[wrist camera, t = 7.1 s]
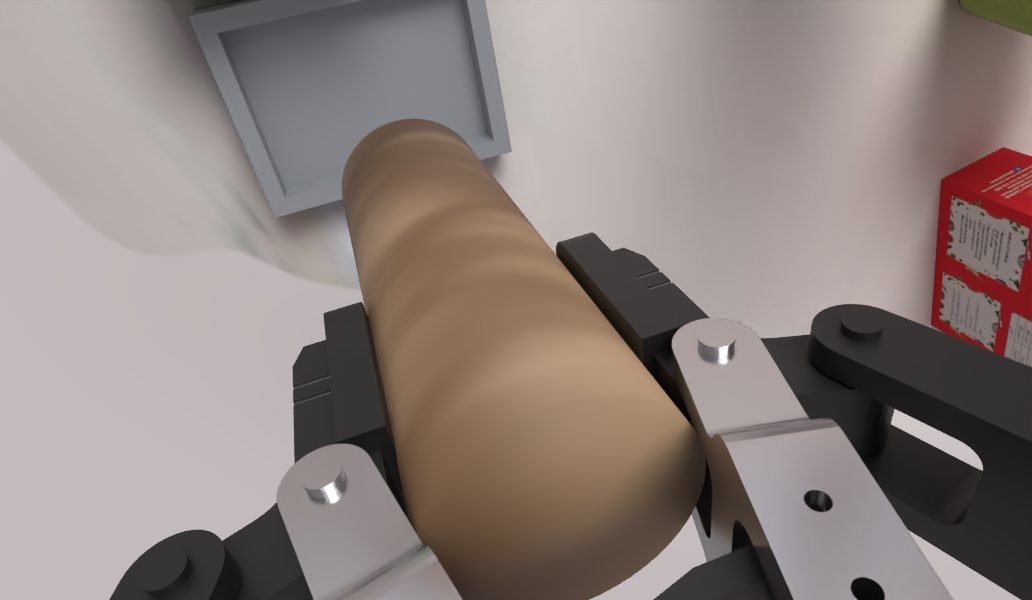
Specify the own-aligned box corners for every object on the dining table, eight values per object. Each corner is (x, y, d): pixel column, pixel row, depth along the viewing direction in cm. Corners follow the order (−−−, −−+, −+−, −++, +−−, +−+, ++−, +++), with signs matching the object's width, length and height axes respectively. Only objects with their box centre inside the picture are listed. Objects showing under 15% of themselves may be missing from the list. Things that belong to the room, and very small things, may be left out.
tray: (465, -51, 28) (476, -48, 26) (500, 140, 33) (511, 151, 32) (193, 10, 26) (187, 16, 24) (275, 202, 31) (274, 218, 30)
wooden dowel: (466, 102, 17) (709, 355, 7) (492, 230, 19) (703, 552, 10) (321, 139, 16) (376, 471, 7) (365, 267, 19) (455, 653, 9)
